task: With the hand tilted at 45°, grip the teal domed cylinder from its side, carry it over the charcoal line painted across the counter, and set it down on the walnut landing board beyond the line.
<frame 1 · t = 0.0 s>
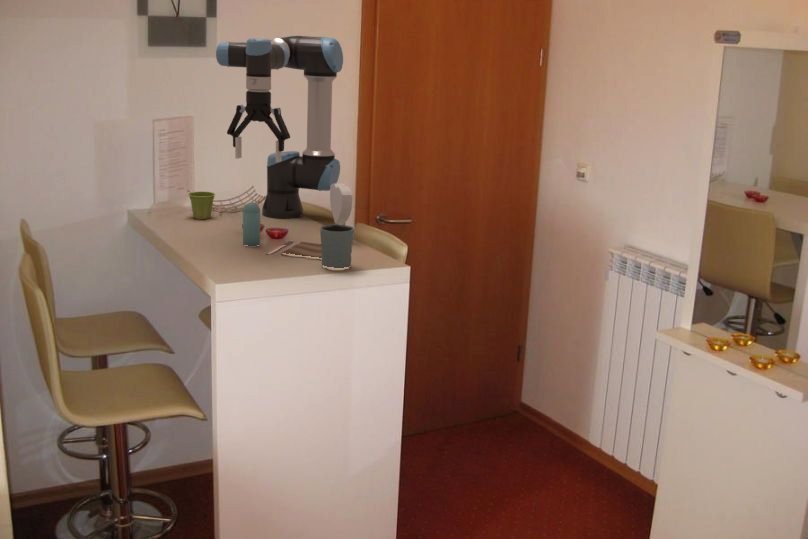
hand: (258, 160, 289), 28 cm above the table, tool pointing down, fingers open, 13 cm apart
teal domed cylinder: (251, 244, 299), on the table
plant pot: (202, 218, 334), on the table
landing board: (312, 252, 293), on the table
grey textured cup: (336, 267, 278), on the table
throw line: (280, 248, 296), on the table
heart sculpture: (339, 238, 313), on the table
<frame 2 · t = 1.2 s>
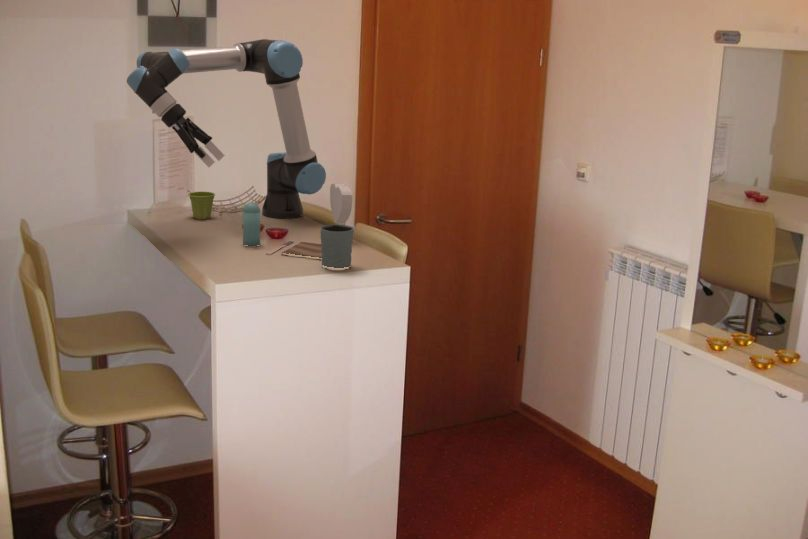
hand: (217, 161, 292), 26 cm above the table, tool tilted 45°, fingers open, 13 cm apart
nothing on the table moved.
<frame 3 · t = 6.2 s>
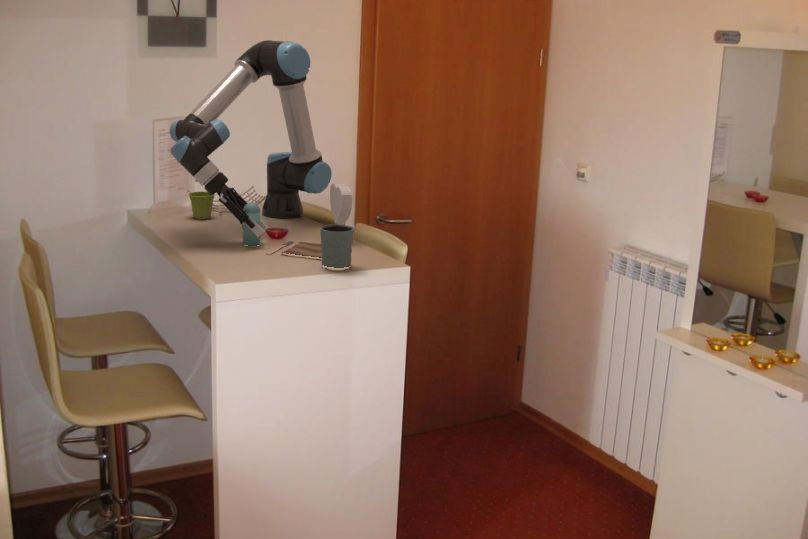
hand: (263, 232, 298), 4 cm above the table, tool tilted 45°, fingers closed on teal domed cylinder, 5 cm apart
teal domed cylinder: (251, 244, 299), on the table, touching gripper
everything else where it was.
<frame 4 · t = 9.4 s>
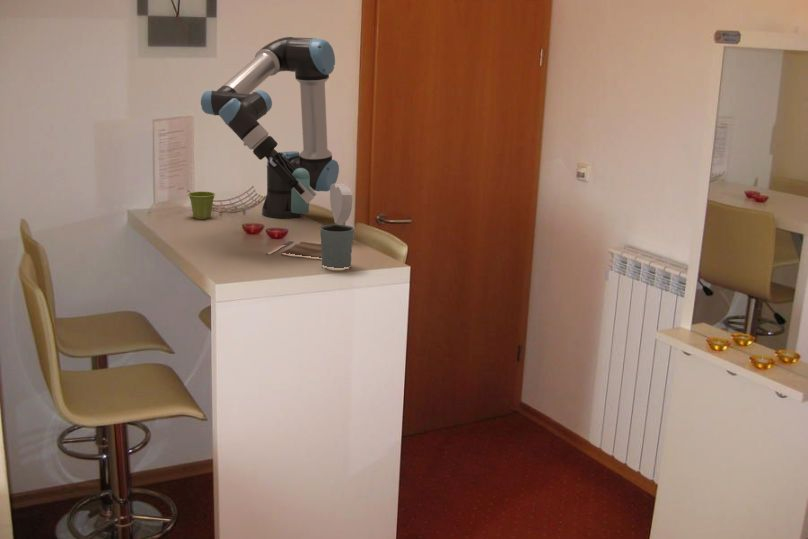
hand: (312, 198, 289), 17 cm above the table, tool tilted 45°, fingers closed on teal domed cylinder, 5 cm apart
teal domed cylinder: (299, 211, 290), point 13 cm above the table, touching gripper
everything else where it was.
when the fingers open (7 cm above the table, at t = 12.7 s): teal domed cylinder drops 1 cm, resting on landing board.
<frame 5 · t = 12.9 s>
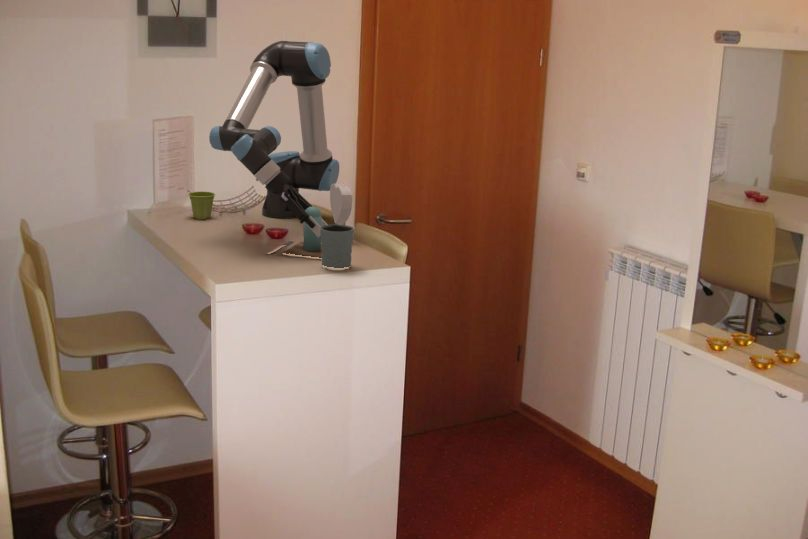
hand: (323, 231, 291), 7 cm above the table, tool tilted 45°, fingers open, 8 cm apart
teal domed cylinder: (312, 249, 293), point 1 cm above the table, touching landing board
everything else where it was.
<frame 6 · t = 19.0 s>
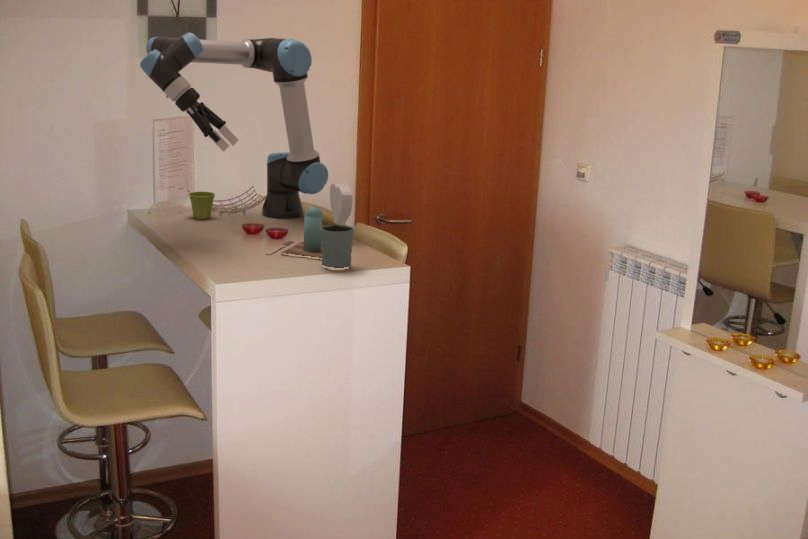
hand: (231, 145, 290), 32 cm above the table, tool tilted 45°, fingers open, 13 cm apart
nothing on the table moved.
at the end: teal domed cylinder inside the target area (0.1 cm from its centre), point 0.9 cm above the table; teal domed cylinder tilted 1°; the gripper is holding nothing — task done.
